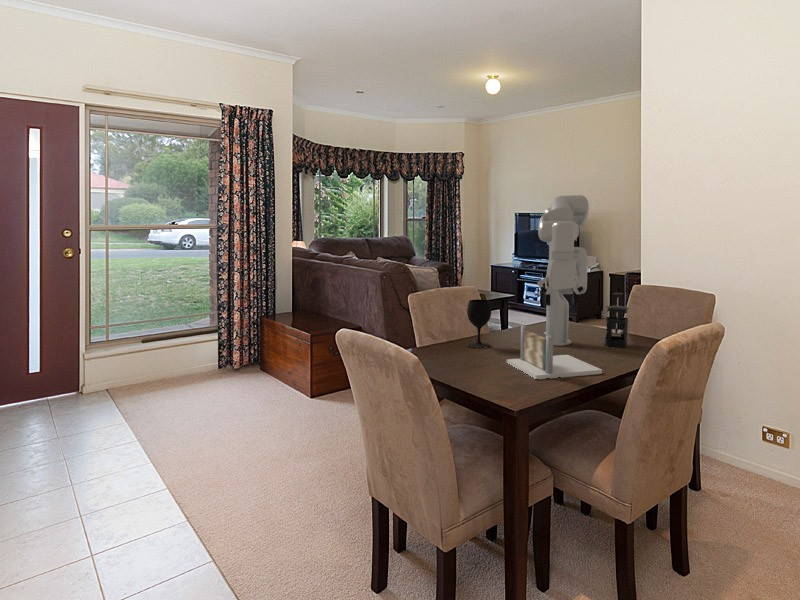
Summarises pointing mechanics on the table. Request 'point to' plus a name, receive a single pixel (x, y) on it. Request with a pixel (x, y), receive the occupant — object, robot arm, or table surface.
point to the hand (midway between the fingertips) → (561, 304)
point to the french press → (616, 340)
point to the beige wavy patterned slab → (535, 349)
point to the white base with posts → (553, 363)
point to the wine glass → (479, 318)
